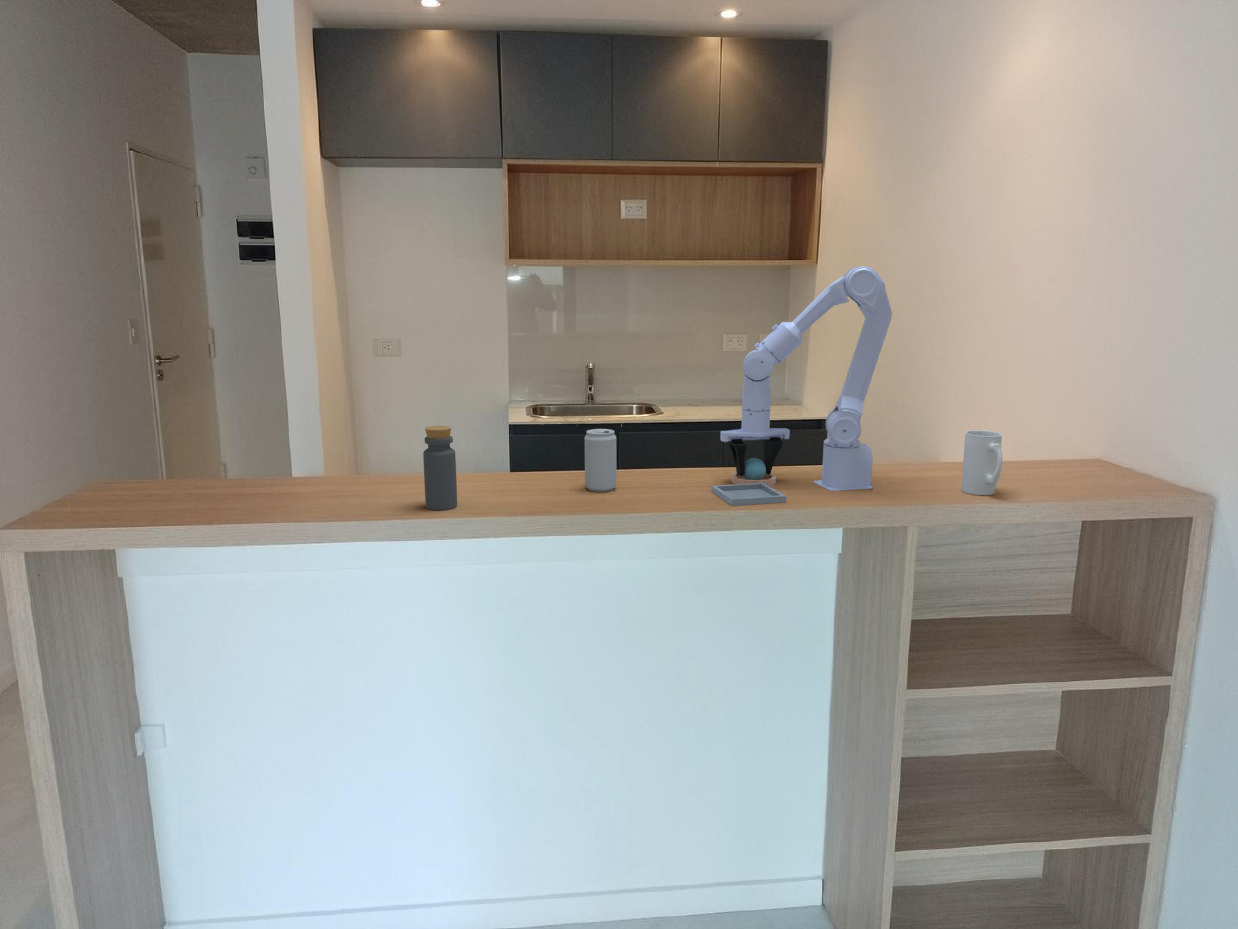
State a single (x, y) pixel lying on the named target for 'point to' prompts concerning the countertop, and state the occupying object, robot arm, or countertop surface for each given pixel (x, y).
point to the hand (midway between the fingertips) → (753, 474)
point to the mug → (981, 462)
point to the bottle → (439, 469)
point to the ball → (754, 469)
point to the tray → (748, 494)
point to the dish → (767, 479)
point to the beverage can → (600, 460)
